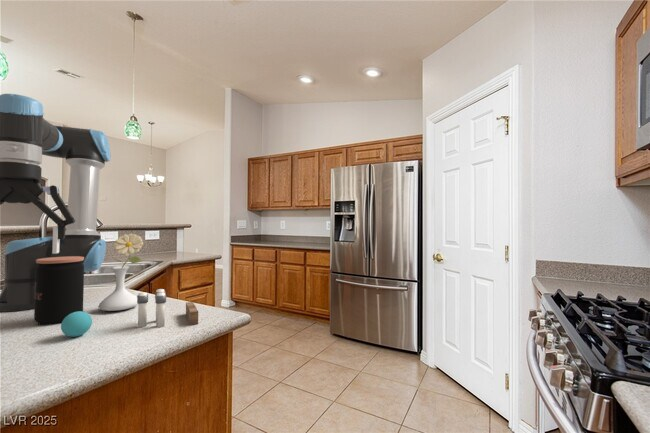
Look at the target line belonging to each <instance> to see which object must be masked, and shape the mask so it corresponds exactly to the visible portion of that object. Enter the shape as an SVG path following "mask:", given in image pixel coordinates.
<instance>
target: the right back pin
mask: <svg viewBox="0 0 650 433" xmlns="http://www.w3.org/2000/svg"><path fill="white" fill-rule="evenodd" d="M154 299H155V305H156V304H157V311H156V310H155V323H156V324H155V326H156V327H155V328H163V327H165V321H166V320H165V316H166V314H165V313H166V303H167V294H166V292H165V293H164V292H161V293H157V295H156V296H155V295H154Z"/></svg>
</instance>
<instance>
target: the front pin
mask: <svg viewBox="0 0 650 433" xmlns="http://www.w3.org/2000/svg"><path fill="white" fill-rule="evenodd" d="M136 297H137V303H138V305H137V307H138V308H137V314H138V315H137V327H138V328H146V327H147V321H148V320H147V318H148V317H147V316H148V314H147V311H148V310H147V308H148V303H149V293H148V292H140V293H138V294H137V295H136Z"/></svg>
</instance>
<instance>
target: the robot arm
mask: <svg viewBox="0 0 650 433" xmlns="http://www.w3.org/2000/svg"><path fill="white" fill-rule="evenodd" d="M44 116H45V113H44V106H43V104H42V103H41V102H40V101H39V100H37V99H34V98H32V97H29V96H25V95H21V94H16V93H1V94H0V205H3V204H4V203H8V204H25V205H26V204H31V203H32V204H34V205H35V206H36V207H37V208H38V209H39V210H41V211H42V213H44V214H45V215H46V216H47V217H48V218H49V219H51V220H52V222H54V223H55V226H52V236H43V237H36V238H35V237H34V238H26V239H25V238H23V239H17V240H12V241H9V242H7V243H6V246H5V252H4V283H3V284H4V285H3V288H2V290H1V292H0V312H17V311H26V310H27V311H28V310H34V308H35V272H36V268H37V267H38V264H37V263H36V260H37V259H41V258H51V257H68V256H81V257H84V260H83V261H82V264H83V265H84V273H86V272H87V273H88V272H95V271H97V270H99V269H100V268H101V267H102V264H103V263H104V260H105V257H106V256H105V255H106V251H107V241H106V240H105V239H102V235H101V234H100V232H98V231H97V220H98V219H97V218H98V205H99V204H98V202H99V199H98V198H99V187H100V186H99V185H100V170H101V169H103V168H104V167H105V164H106V163H108V162H110V161H111V158H112V156H111V148H110V144H109V139H108V137H107V135H106V134H105V132H103V131H102V130H101V131H100V130H96V129H91V128H89V129H88V128H82V127H81V128H80V127H69V126H63V125H62V126H61V125H54V124H52V123H50V122H49V121H47V120H46V119H45V118H44ZM43 156H47V157H52V158H56V159H59V158H60V159H65V163H67V165H68V166H69V167H70V172H69V185H68V199H67V205H66V203H65V202H64V200H63V198H62V197H61V196H60V190H59V186H56V185H50V186H48V185H47V186H43V185H42V167H41V166H40V165H42V164H43ZM44 192H45V193H46V194H47V195H49V196H51V199H52V200H53V202H54V204H56V206H57V209H58V210H59V211H60V212H61V214H62V217H63V218H64V220H63V219H62V218H61V217H60V216H59V215H58V214H57V213H56V212H55V211H54V210H53V209H52V208H50V207H49V206H48V205H47V204H46V203H45V202H44V201H43V200H42V199H41V198H40V197H39V196H41V195H42V194H43V193H44Z"/></svg>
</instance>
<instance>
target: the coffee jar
mask: <svg viewBox="0 0 650 433" xmlns="http://www.w3.org/2000/svg"><path fill="white" fill-rule="evenodd" d="M83 260H84V257H81V256H68V257H51V258H41V259H37V260H36V263H37V264H38V267H37V268H36V272H35V308H34V309H33V310H34V313H33V314H34V316H33V317H34V318H33V319H34V321H35V322H36V323H37V324H38V325H40V326H41V325H42V326H48V325H49V326H50V325H57V324H58V325H61V324H62V321H63V320H64V318H65V317H66V316H68V315H69V314H71V313H73V312H78V311H82V312H84V288H85V287H84V285H85V282H84V281H85V272H84V265H83V264H82V261H83Z"/></svg>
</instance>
